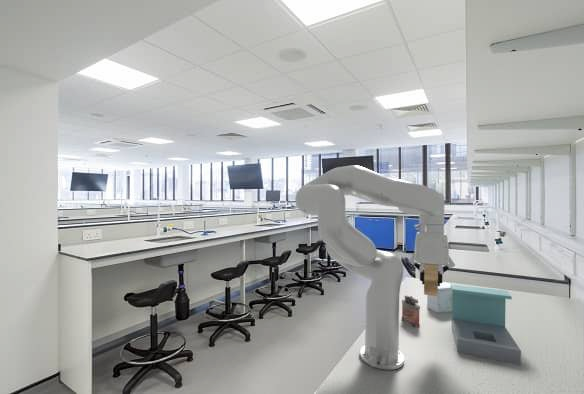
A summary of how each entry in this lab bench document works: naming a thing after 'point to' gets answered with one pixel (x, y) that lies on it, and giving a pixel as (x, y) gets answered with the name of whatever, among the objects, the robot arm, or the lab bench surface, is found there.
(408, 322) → the lighter
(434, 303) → the skincare box
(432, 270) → the peg
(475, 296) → the socket block
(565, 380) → the lab bench surface
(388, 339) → the robot arm
